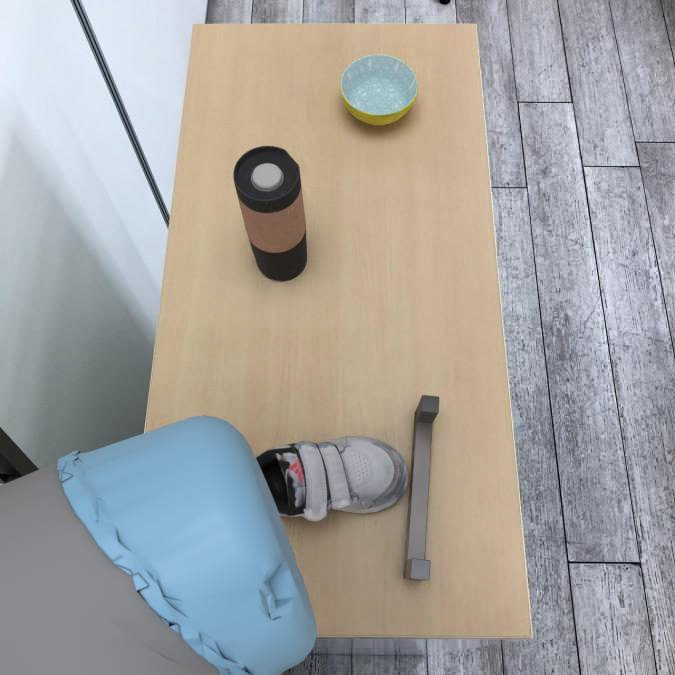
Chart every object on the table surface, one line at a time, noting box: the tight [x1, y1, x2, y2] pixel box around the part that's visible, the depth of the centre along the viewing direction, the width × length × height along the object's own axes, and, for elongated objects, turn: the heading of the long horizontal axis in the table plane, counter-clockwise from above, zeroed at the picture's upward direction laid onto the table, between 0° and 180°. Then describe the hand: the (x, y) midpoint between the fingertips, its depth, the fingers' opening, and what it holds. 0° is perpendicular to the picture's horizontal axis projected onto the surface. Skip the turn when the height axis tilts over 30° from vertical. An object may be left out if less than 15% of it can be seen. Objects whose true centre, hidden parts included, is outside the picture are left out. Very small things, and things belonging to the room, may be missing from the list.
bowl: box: [339, 53, 419, 126], centre depth 95 cm, size 11×12×6 cm
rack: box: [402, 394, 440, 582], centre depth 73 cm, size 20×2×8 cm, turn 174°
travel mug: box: [232, 145, 308, 282], centre depth 79 cm, size 8×8×20 cm
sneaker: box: [255, 435, 409, 522], centre depth 72 cm, size 10×20×10 cm, turn 95°
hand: (55, 531), depth 50 cm, fingers closed
